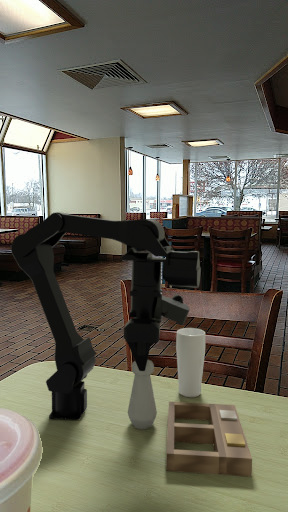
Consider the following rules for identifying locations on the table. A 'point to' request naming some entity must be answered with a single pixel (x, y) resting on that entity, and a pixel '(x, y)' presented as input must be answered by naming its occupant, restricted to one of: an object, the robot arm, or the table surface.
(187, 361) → the drinking glass
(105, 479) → the table surface
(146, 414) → the salt shaker
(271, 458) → the table surface
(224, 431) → the socket block
